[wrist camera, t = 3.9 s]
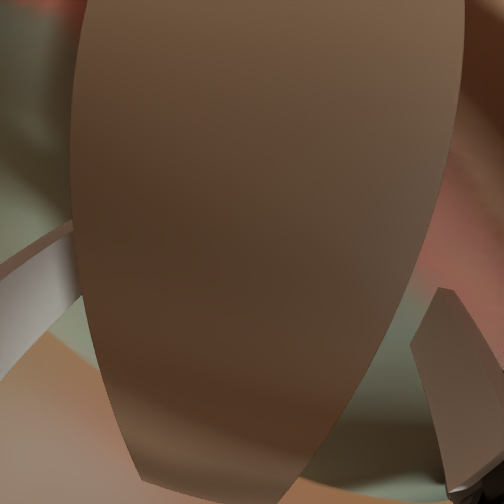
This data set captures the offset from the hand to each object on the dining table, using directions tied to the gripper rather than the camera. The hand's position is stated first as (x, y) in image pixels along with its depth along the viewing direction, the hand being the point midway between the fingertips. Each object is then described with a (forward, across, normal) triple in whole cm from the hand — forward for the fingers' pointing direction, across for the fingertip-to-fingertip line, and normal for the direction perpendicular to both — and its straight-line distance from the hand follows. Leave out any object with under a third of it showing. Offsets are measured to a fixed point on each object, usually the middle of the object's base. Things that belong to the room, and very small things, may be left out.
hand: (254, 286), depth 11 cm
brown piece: (+3, 0, -4) cm, 5 cm away
